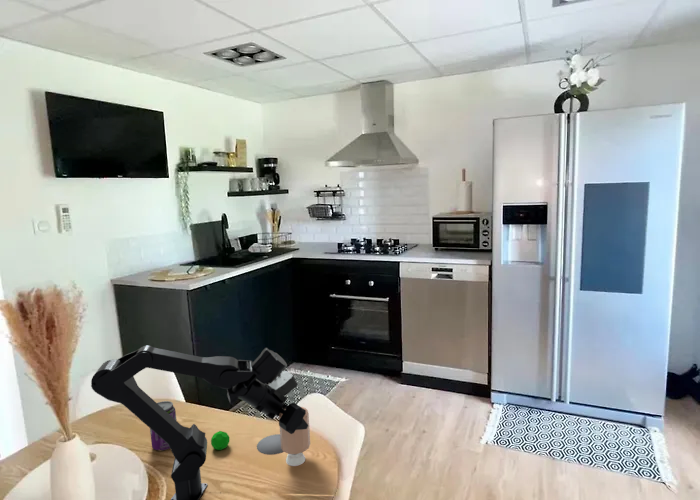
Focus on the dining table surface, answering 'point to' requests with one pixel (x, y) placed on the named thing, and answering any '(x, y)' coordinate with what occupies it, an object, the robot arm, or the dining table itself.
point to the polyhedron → (220, 440)
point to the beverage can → (155, 439)
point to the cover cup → (295, 438)
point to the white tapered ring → (295, 459)
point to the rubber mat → (270, 445)
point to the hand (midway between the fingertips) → (298, 421)
